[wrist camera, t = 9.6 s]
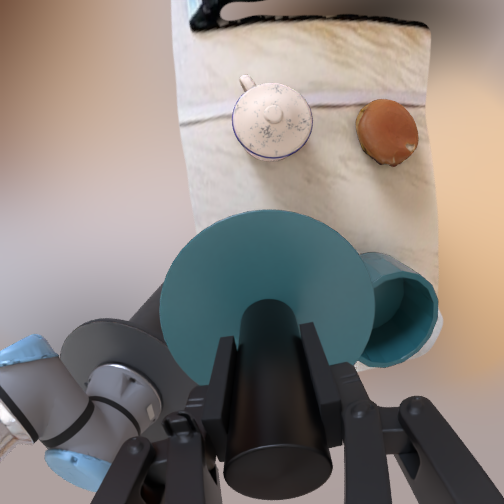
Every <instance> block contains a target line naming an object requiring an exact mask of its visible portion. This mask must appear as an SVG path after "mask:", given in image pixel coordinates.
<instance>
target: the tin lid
mask: <svg viewBox="0 0 504 504" xmlns="http://www.w3.org/2000/svg"><path fill="white" fill-rule="evenodd" d="M374 317H375V296H374V289H373V285H372V281H371V278H370V275H369V272H368V270H367V268H366V266H365V264H364V262H363V260H362V259H361V257H360V256H359V254H358V252H357V251H356V250H355V249H354V248H353V247H352V245H351V244H350V243H349V242H348V241H347V240H346V239H345V238H344V237H342V236H341V235H340V234H339V233H338V232H336V231H335V230H333V229H332V228H330V227H329V226H327V225H326V224H324V223H322V222H320V221H318V220H316V219H313V218H311V217H309V216H306V215H302V214H299V213H295V212H290V211H284V210H255V211H247V212H243V213H239V214H236V215H232V216H229V217H227V218H225V219H222V220H220V221H217V222H216V223H214V224H212V225H211V226H209V227H207V228H206V229H204V230H203V231H201V232H200V233H199V234H198V235H196V236H195V237H194V238H193V239H191V241H190V242H189V243H188V244H187V245H186V246H185V247H184V248H183V249H182V250H181V251H180V253H179V254H178V256H177V257H176V258H175V260H174V261H173V263H172V265H171V267H170V269H169V271H168V273H167V275H166V278H165V281H164V284H163V287H162V291H161V297H160V322H161V328H162V332H163V336H164V339H165V341H166V344H167V346H168V349H169V351H170V352H171V354H172V356H173V358H174V359H175V361H176V362H177V363H178V365H179V366H180V367H181V369H182V370H183V371H184V372H185V373H186V374H187V375H188V376H189V377H190V378H191V379H192V380H193V381H195V382H196V383H197V384H198V385H200V386H202V385H209V382H210V378H211V373H212V369H213V365H214V361H215V356H216V352H217V348H218V344H219V340H220V337H227V336H233V335H234V339H235V343H236V347H237V360H236V368H235V377H234V385H233V394H232V402H231V411H230V419H229V428H228V436H227V445H226V454H225V462H224V471H223V474H224V478H225V481H226V482H227V484H228V485H229V486H230V487H231V488H232V489H233V490H235V491H236V492H238V493H240V494H242V495H245V496H248V497H251V498H256V499H262V500H283V499H291V498H295V497H299V496H302V495H305V494H308V493H310V492H312V491H314V490H316V489H318V488H319V487H320V486H322V485H323V484H324V483H325V482H326V481H327V480H328V478H329V477H330V475H331V473H332V469H333V465H332V460H331V456H330V451H329V447H328V443H327V438H326V434H325V430H324V426H323V423H322V420H321V415H320V411H319V407H318V403H317V399H316V395H315V391H314V387H313V383H312V379H311V375H310V371H309V367H308V363H307V359H306V355H305V352H304V348H303V344H302V340H301V333H300V326H299V324H304V323H309V322H313V323H314V326H315V328H316V331H317V334H318V336H319V339H320V342H321V344H322V347H323V350H324V353H325V355H326V358H327V361H328V364H329V365H334V364H338V363H343V362H348V363H350V364H351V365H353V366H354V364H355V363H356V362H357V360H358V359H359V357H360V356H361V354H362V353H363V351H364V349H365V347H366V345H367V342H368V340H369V338H370V334H371V331H372V328H373V323H374Z"/></svg>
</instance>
